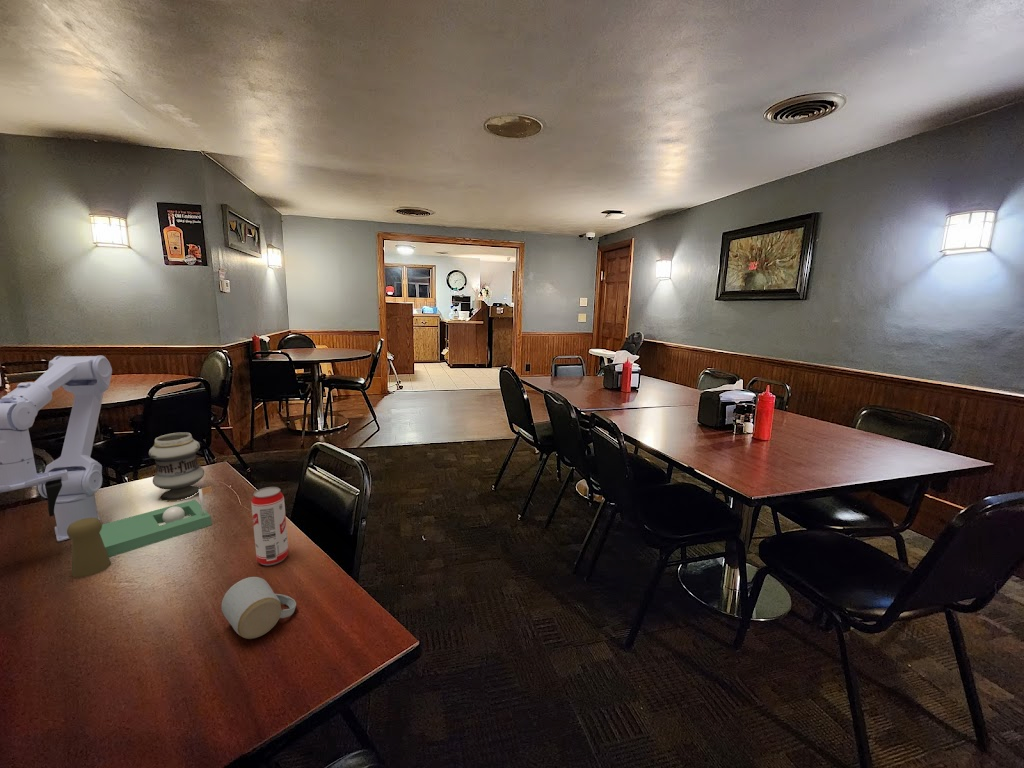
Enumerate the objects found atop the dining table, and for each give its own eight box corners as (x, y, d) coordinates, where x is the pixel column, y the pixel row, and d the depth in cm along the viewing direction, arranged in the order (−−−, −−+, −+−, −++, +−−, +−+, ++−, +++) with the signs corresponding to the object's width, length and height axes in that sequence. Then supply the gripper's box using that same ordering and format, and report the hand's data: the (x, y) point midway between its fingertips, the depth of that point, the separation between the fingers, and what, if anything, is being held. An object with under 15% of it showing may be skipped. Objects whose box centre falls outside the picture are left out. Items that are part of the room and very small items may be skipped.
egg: (184, 511, 114) (168, 525, 111) (171, 501, 111) (155, 515, 109) (191, 515, 111) (175, 530, 109) (178, 504, 109) (161, 520, 106)
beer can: (256, 570, 92) (249, 500, 89) (257, 555, 97) (251, 488, 94) (289, 562, 94) (283, 494, 92) (288, 548, 100) (283, 483, 97)
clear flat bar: (201, 514, 110) (198, 489, 109) (213, 511, 112) (210, 485, 111) (202, 515, 110) (198, 489, 108) (214, 512, 112) (211, 486, 110)
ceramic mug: (239, 651, 70) (236, 609, 69) (222, 627, 75) (218, 587, 74) (304, 617, 78) (302, 579, 77) (285, 597, 83) (283, 561, 82)
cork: (86, 579, 88) (77, 529, 86) (63, 575, 89) (54, 526, 87) (118, 562, 94) (111, 515, 92) (96, 559, 95) (88, 512, 93)
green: (91, 537, 103) (89, 527, 103) (196, 507, 119) (195, 499, 119) (99, 560, 94) (97, 549, 94) (211, 524, 110) (210, 515, 110)
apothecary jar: (143, 501, 122) (135, 440, 119) (182, 484, 134) (175, 429, 131) (180, 505, 120) (172, 443, 117) (216, 487, 132) (209, 431, 129)
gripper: (-46, 474, 81) (-31, 541, 83) (65, 455, 91) (75, 515, 94) (-43, 465, 85) (-29, 528, 88) (62, 448, 96) (72, 505, 98)
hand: (25, 521), depth 91 cm, fingers open, 7 cm apart
